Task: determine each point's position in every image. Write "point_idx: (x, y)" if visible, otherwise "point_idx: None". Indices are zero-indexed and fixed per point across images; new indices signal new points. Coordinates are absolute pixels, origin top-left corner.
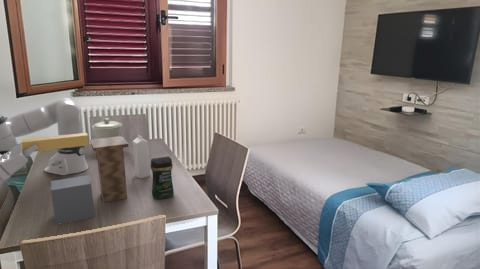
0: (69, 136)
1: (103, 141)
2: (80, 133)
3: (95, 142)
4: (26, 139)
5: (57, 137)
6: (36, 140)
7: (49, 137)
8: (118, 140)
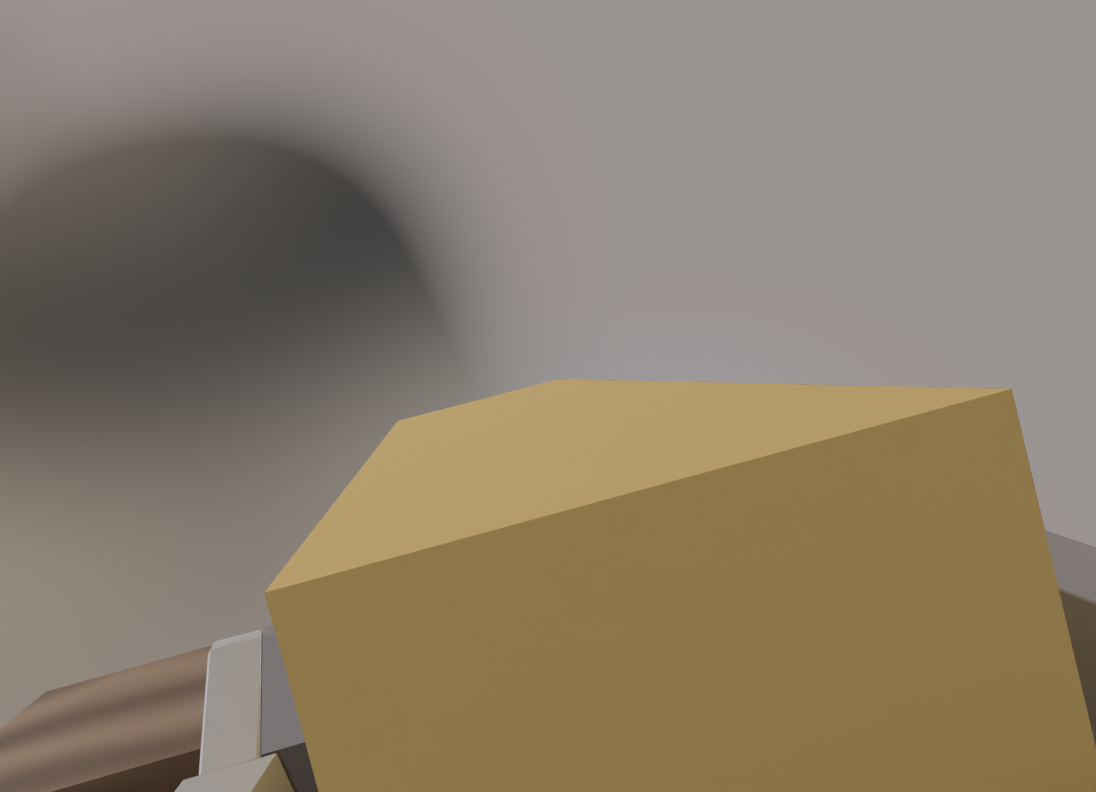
0: (540, 395)
1: (123, 726)
2: (407, 421)
3: (94, 762)
4: (411, 521)
5: (541, 405)
6: (720, 394)
7: (471, 433)
8: (206, 662)
